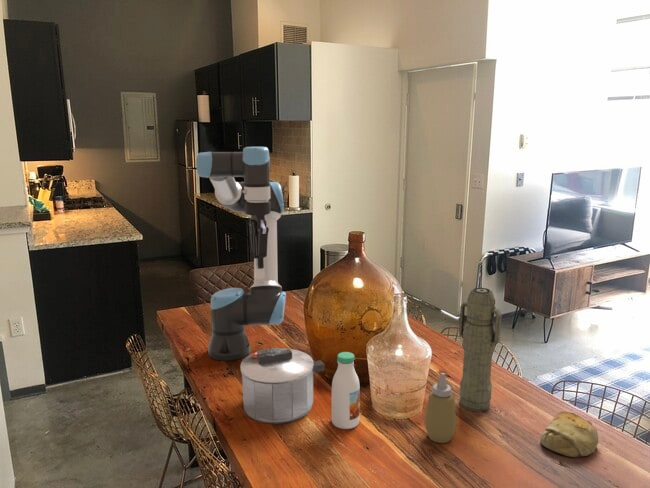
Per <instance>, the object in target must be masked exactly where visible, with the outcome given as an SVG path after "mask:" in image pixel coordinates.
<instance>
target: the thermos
mask: <svg viewBox="0 0 650 488" xmlns="http://www.w3.org/2000/svg"><path fill="white" fill-rule="evenodd" d="M466 299H467V300H466V301H465V302H463V303H462V304H461V306H460V307H459V329H458V331H459V336H460V337H461V339H462V349H463V358H462V359H463V361H462V362H463V363H462V364H463V365H462V377H461V380H460V383H459V405H460V406H462V407H463V408H464V409H466V410H469V411H472V412H483V411H487V410H489V409H490V407H491V399H492V390H493V389H492V386H493V384H492V381H491V378H492V377H491V375H492V374H491V373H492V359H493V353H494V351H495V346H496V345H497V344H499V343H500V340H501V339H500V338H501V337H500V336H501V326H502V318H503V315H502V312H501V310H500V309H497V308H496V299H495V295H494V292H493V290H491V289H489V288H486V287H474V288H472V289H470V291H469V294H468V296H467V298H466ZM465 310H466V311H465ZM465 312H466V320H465ZM494 319H495V322H494ZM494 324H495V326H494Z"/></svg>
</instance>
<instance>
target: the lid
mask: <svg viewBox="0 0 650 488" xmlns="http://www.w3.org/2000/svg"><path fill="white" fill-rule="evenodd" d="M313 362H314V360H313V358H312V356H311V355H309V354H308V353H306V352H303V351H301V350H298V349H294V348H286V347H285V348H284V347H283V348H277V347H274V348H273V347H272V348H265V349H261V350H257V351H254V350H253V351H250V353H249V354H248V355H247V356H245V357H243V358H242V361H241V362H240V373H241V376H242V375H243V376H244V377H245V378H247V379H249V380H251V381H254V382H258V383H263V384H285V383H290V382H294V381H298V380H300V379H303V378H305V377H306V376H308V375H309V374H310V373H311V372H312V370H313V367H314V363H313Z"/></svg>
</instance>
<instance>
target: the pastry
mask: <svg viewBox="0 0 650 488" xmlns="http://www.w3.org/2000/svg"><path fill="white" fill-rule="evenodd" d="M540 444H541V445H542V446H543V447H545V448H546V449H548V450H550V451H553V452H554V453H557V454H559V455H563V456H565V457H568V458H569V457H570V458H583V457H588V456H590V455H592V454H593V453H595V452H596V448H597V446H598V445H599V433H598V430H597V428H596V426H594V425H593V423H592V422H591V421H590V420H587V419H585V418H584V417H583V416H580V415H578V414H576V413H574V412H571V411H570V412H569V411H560V412H558V413H557V414H556V415H555V416H554V418H553V419H552V420H551V421H550V423H548V425H547V427H546V428H545V429H544V431H543V433H542V434H541V437H540Z"/></svg>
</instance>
